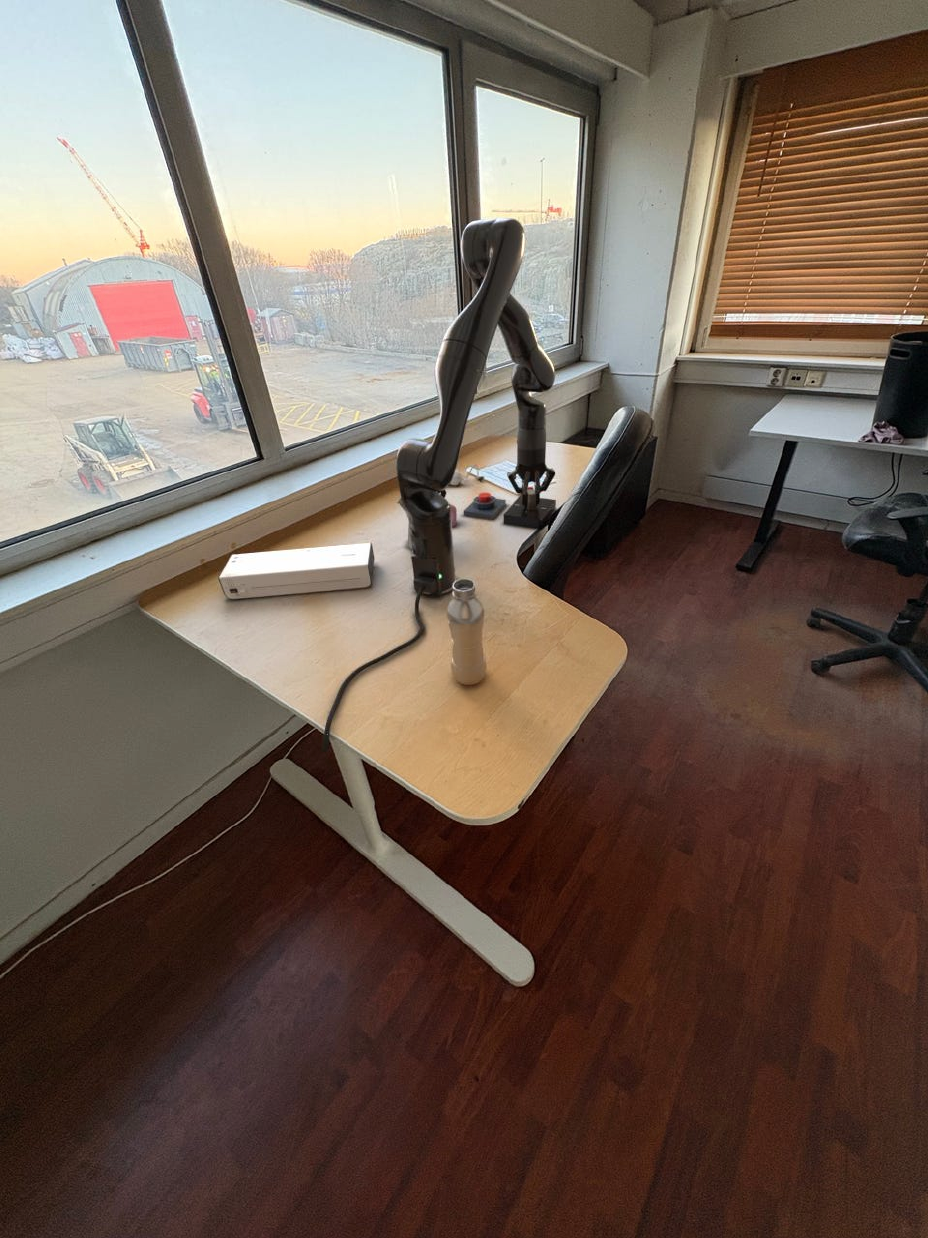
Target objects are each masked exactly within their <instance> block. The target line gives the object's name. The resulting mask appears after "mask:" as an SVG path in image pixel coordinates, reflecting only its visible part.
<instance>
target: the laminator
mask: <svg viewBox="0 0 928 1238" xmlns="http://www.w3.org/2000/svg"><path fill="white" fill-rule="evenodd" d="M373 548H374V547H373V543H372V542H365V543H353V544H342V545H333V546H332V545H331V546H318V547H308V548H293V549H285V550H284V549H283V550H273V551H259V552H249V553H238V554H237V553H236V554H231V555H230V557H229V559H228V560H227V562H226V564H225V565H224V567H223V569H222V570H221V572H220V574H219V576H218V577H217V579H218V581H219V584H220V587H221V589H222V592H223V594H224V596H225V597H226V598H227V599H228V600H231V601H237V600H248V599H261V598H269V597H270V598H272V597H282V596H294V595H304V594H315V593H317V594H318V593H326V592H327V593H328V592H338V591H349V590H351V591H352V590H360V589H367V588H368V589H369V588H370V587H371V586H372V584H373V581H372V580H373V572H374V565H375V564H374V563H375V553H374V549H373Z"/></svg>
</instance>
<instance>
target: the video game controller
mask: <svg viewBox="0 0 928 1238" xmlns="http://www.w3.org/2000/svg"><path fill="white" fill-rule="evenodd" d="M449 504H450V509H451V523H452V528H453V527H456V526H457V525H456V524H457V518H458V513H457V511H458V510H457V506H455V504H452V503H450V502H449Z"/></svg>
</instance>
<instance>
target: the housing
mask: <svg viewBox="0 0 928 1238" xmlns="http://www.w3.org/2000/svg"><path fill="white" fill-rule="evenodd" d="M506 505H507V501H506V499H502V498H501V499H500V498H496V497H495V496H493V495H491V501H490V502H479V495H478V496H475V497H474V498H473V500H472V502H471V503H470V504H469V505H468V506H467V507H466V508H464V510H463V517H469V518H476V519H483V520H490V521H493V520H494V519H495V518H496V517H497V515H498V514H499V513H500V512H501V511H502V510H503V509H504V507H506Z"/></svg>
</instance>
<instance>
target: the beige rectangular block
mask: <svg viewBox="0 0 928 1238" xmlns="http://www.w3.org/2000/svg"><path fill="white" fill-rule="evenodd" d="M527 509H528V511H531V510H536V492H535V488H534V487H533V486H528V488H527Z"/></svg>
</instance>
